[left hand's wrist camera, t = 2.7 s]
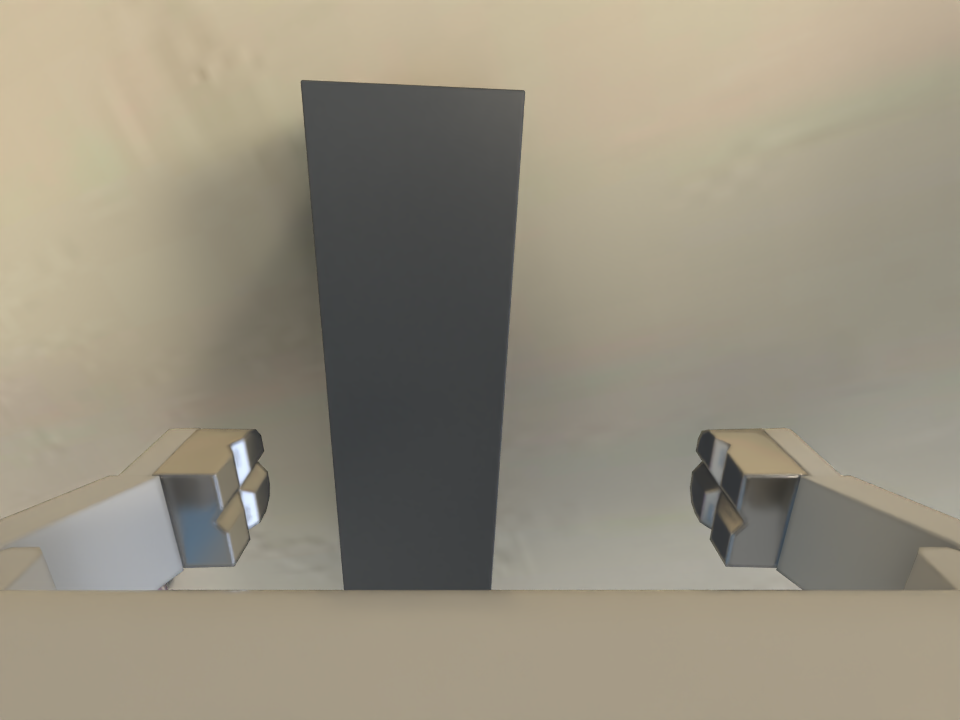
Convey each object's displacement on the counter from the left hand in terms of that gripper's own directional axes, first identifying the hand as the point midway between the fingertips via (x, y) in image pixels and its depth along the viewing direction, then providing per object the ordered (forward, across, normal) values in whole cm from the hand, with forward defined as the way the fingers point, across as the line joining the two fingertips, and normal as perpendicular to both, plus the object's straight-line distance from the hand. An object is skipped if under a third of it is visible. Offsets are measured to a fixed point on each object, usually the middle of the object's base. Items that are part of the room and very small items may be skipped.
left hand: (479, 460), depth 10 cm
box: (+21, +2, +6) cm, 22 cm away
